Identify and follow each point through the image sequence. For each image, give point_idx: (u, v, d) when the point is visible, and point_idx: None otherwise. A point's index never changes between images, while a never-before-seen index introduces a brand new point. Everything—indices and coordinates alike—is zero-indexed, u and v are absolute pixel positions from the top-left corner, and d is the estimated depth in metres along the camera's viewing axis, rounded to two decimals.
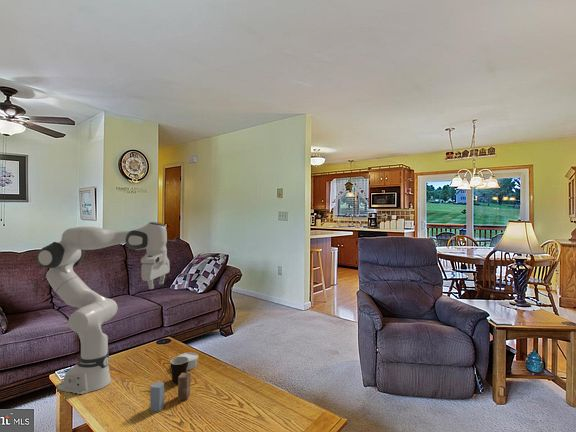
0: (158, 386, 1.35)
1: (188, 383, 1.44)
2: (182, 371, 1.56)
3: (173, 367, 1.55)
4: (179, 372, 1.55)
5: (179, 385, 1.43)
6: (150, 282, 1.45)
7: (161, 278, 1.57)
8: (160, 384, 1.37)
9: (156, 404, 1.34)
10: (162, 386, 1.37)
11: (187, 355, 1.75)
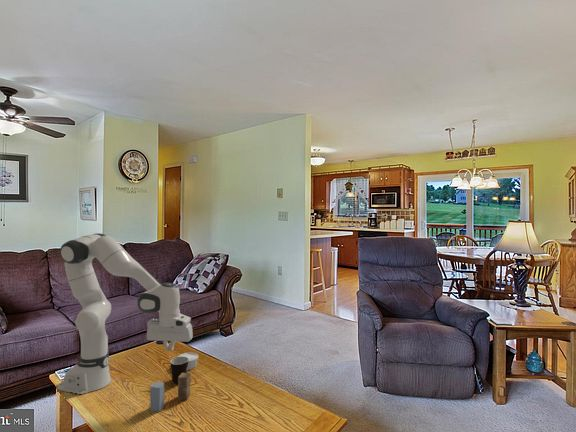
0: (158, 386, 1.35)
1: (188, 383, 1.44)
2: (182, 371, 1.56)
3: (173, 367, 1.55)
4: (179, 372, 1.55)
5: (179, 385, 1.43)
6: (175, 342, 1.45)
7: (166, 344, 1.45)
8: (160, 384, 1.37)
9: (156, 404, 1.34)
10: (162, 386, 1.37)
11: (187, 355, 1.75)
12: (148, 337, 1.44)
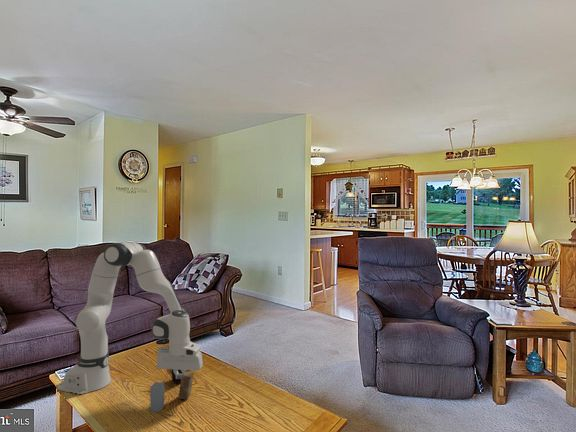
0: (158, 386, 1.35)
1: (190, 383, 1.44)
2: None
3: None
4: (179, 372, 1.55)
5: (181, 384, 1.43)
6: None
7: (176, 372, 1.45)
8: (160, 384, 1.37)
9: (156, 404, 1.34)
10: (162, 386, 1.37)
11: None
12: (158, 365, 1.44)
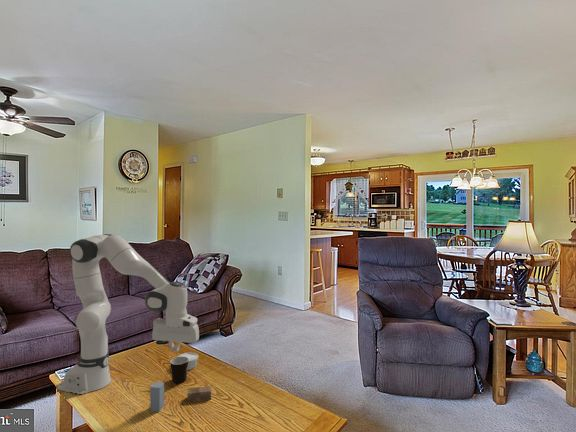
0: (158, 386, 1.35)
1: None
2: (182, 371, 1.56)
3: (173, 367, 1.55)
4: (179, 372, 1.55)
5: (202, 393, 1.43)
6: (180, 343, 1.42)
7: (172, 344, 1.42)
8: (160, 384, 1.37)
9: (156, 404, 1.34)
10: (162, 386, 1.37)
11: (187, 355, 1.75)
12: (153, 337, 1.41)
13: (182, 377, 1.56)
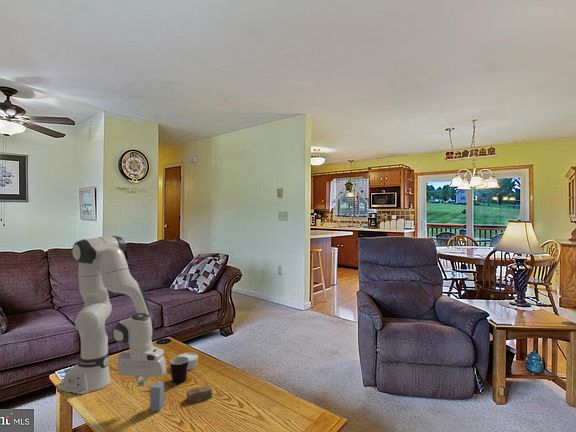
0: (158, 386, 1.35)
1: None
2: (182, 371, 1.56)
3: (173, 367, 1.55)
4: (179, 372, 1.55)
5: (203, 392, 1.43)
6: (147, 377, 1.37)
7: (138, 379, 1.37)
8: (160, 384, 1.37)
9: (156, 404, 1.34)
10: (162, 386, 1.37)
11: (187, 355, 1.75)
12: (119, 372, 1.36)
13: (182, 377, 1.56)
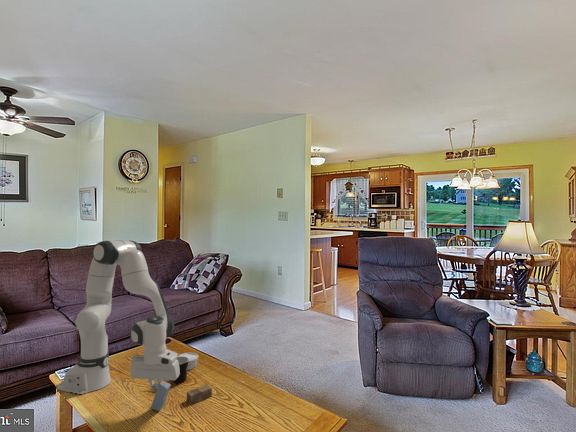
0: (165, 387, 1.35)
1: None
2: (182, 371, 1.56)
3: None
4: None
5: (204, 392, 1.44)
6: (160, 380, 1.37)
7: (152, 382, 1.36)
8: (167, 385, 1.36)
9: (159, 403, 1.34)
10: (169, 387, 1.37)
11: (187, 355, 1.75)
12: (132, 375, 1.35)
13: (182, 377, 1.56)
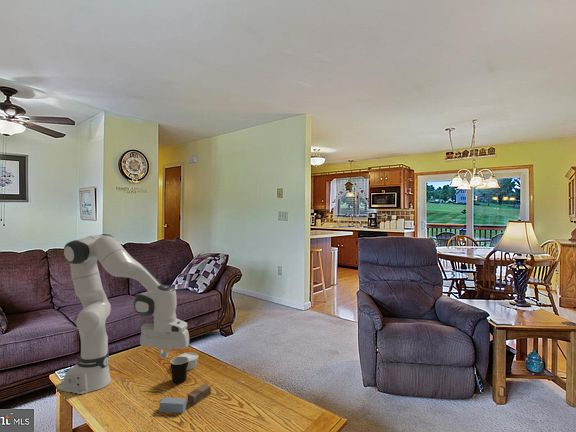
0: (183, 410, 1.34)
1: None
2: (182, 371, 1.56)
3: (173, 367, 1.55)
4: (179, 372, 1.55)
5: (204, 391, 1.44)
6: (170, 349, 1.36)
7: (161, 351, 1.36)
8: (185, 408, 1.36)
9: (166, 409, 1.34)
10: None
11: (187, 355, 1.75)
12: (141, 343, 1.35)
13: (182, 377, 1.56)
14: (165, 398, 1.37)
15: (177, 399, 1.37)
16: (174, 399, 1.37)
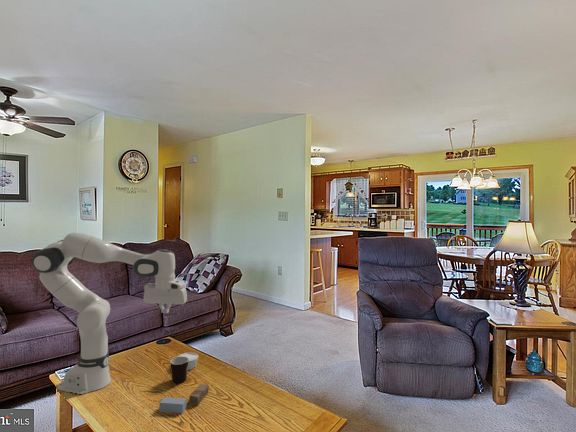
0: (183, 410, 1.34)
1: None
2: (182, 371, 1.56)
3: (173, 367, 1.55)
4: (179, 372, 1.55)
5: (204, 390, 1.45)
6: (170, 305, 1.54)
7: (162, 307, 1.53)
8: (184, 409, 1.36)
9: (166, 409, 1.34)
10: None
11: (187, 355, 1.75)
12: (145, 300, 1.52)
13: (182, 377, 1.56)
14: (165, 398, 1.37)
15: (177, 399, 1.37)
16: (174, 399, 1.37)
